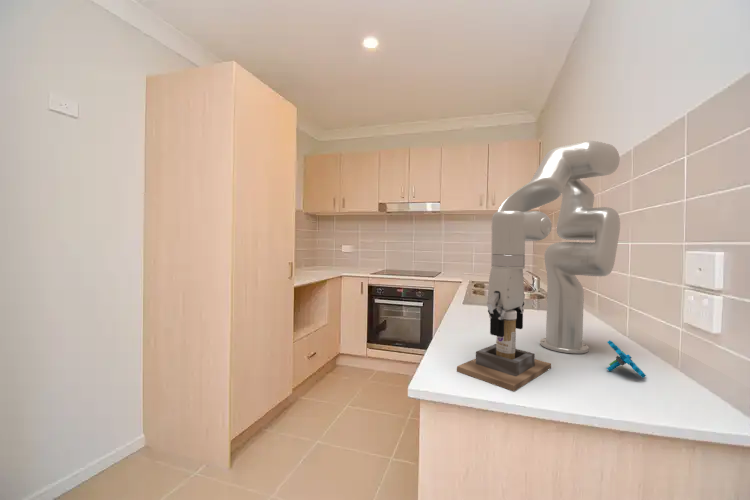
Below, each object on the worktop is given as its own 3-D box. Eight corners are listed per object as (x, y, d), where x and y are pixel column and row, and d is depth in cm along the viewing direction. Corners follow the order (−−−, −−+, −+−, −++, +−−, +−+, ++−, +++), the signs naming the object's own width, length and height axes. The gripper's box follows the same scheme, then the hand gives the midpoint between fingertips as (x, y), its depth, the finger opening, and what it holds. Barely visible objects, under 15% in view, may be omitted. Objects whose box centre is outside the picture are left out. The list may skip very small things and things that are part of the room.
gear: (652, 378, 72) (613, 340, 76) (627, 393, 74) (591, 355, 78) (645, 370, 81) (611, 336, 86) (624, 383, 83) (591, 349, 88)
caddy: (497, 353, 92) (498, 338, 92) (550, 368, 82) (551, 351, 81) (456, 371, 79) (457, 353, 78) (514, 391, 68) (514, 371, 68)
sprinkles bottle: (492, 364, 80) (493, 309, 80) (501, 359, 83) (502, 307, 83) (510, 369, 77) (511, 312, 77) (519, 365, 80) (520, 310, 80)
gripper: (509, 259, 88) (508, 322, 89) (474, 262, 77) (474, 335, 77) (538, 261, 83) (537, 328, 83) (505, 264, 71) (504, 342, 72)
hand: (506, 331), depth 80 cm, fingers open, 9 cm apart
